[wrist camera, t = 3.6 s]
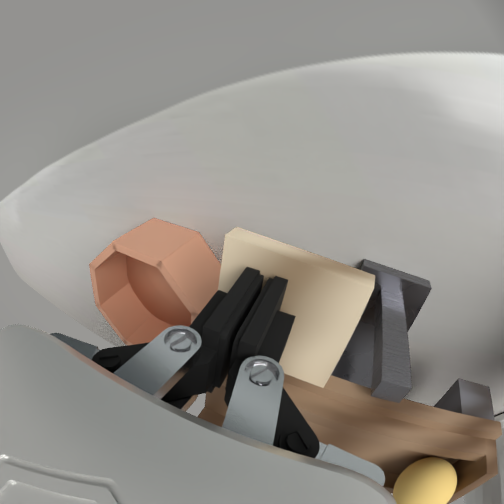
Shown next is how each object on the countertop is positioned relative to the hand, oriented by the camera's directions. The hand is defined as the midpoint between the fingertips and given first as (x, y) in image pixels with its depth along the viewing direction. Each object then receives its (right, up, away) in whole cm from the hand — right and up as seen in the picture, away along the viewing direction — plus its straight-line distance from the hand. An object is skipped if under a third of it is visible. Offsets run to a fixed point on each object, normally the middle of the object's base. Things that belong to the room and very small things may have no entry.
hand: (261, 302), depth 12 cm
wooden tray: (+7, -4, +4) cm, 10 cm away
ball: (+10, -12, -1) cm, 15 cm away
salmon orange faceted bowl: (-7, 0, +13) cm, 15 cm away
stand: (+8, -5, +9) cm, 14 cm away
